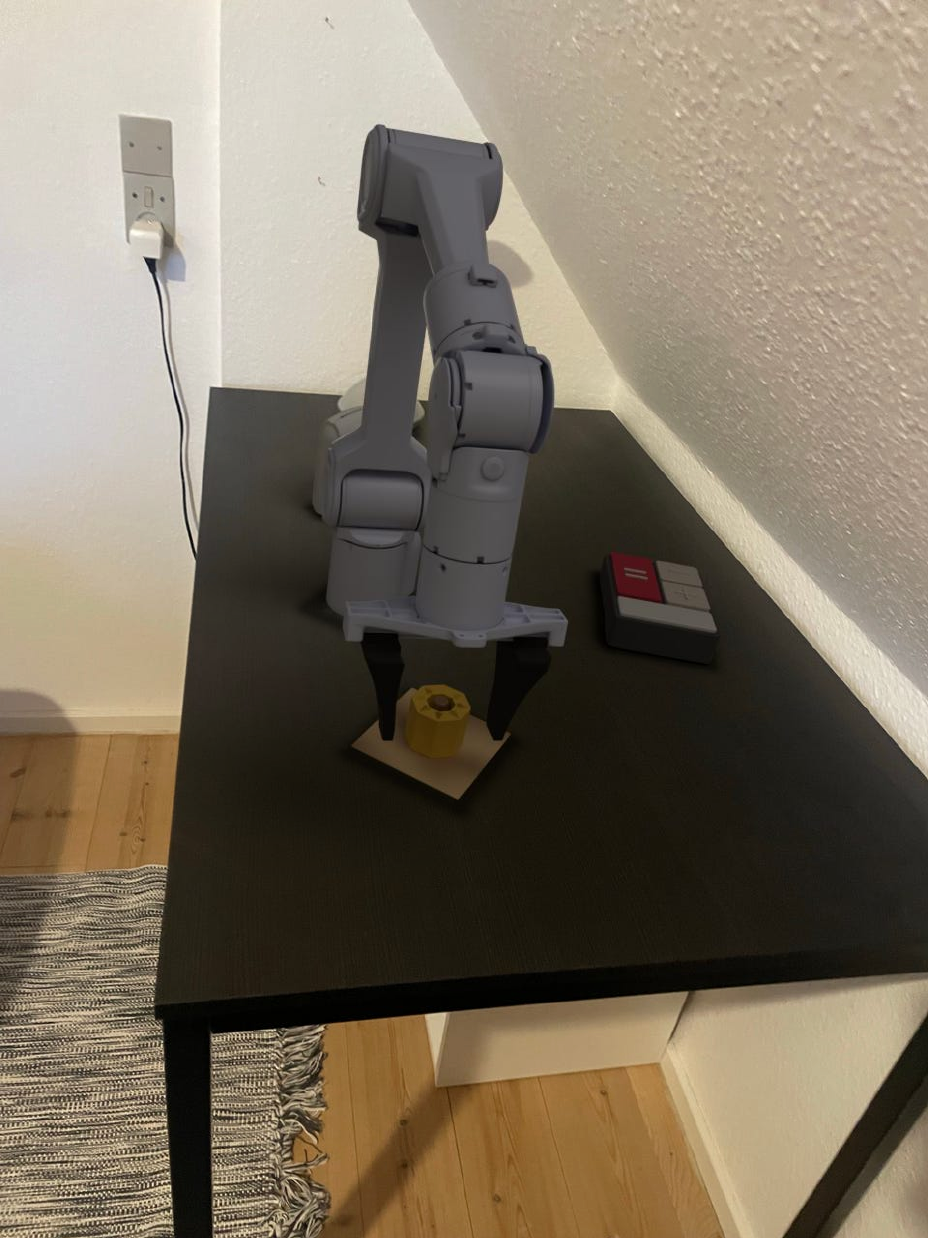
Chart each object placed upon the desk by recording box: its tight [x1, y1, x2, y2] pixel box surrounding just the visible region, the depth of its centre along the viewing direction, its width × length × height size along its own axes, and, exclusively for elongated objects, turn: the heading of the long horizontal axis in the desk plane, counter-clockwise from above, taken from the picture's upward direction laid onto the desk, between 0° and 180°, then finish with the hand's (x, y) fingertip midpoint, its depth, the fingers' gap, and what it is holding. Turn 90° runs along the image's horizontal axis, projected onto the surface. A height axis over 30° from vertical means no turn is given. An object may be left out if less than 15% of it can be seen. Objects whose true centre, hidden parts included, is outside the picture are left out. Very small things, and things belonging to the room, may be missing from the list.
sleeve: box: [405, 684, 472, 759], centre depth 78 cm, size 5×5×4 cm
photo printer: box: [311, 405, 363, 516], centre depth 110 cm, size 10×4×12 cm, turn 137°
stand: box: [350, 687, 511, 800], centre depth 78 cm, size 10×10×5 cm
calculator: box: [598, 551, 721, 665], centre depth 103 cm, size 11×4×15 cm
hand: (440, 733), depth 65 cm, fingers open, 7 cm apart
